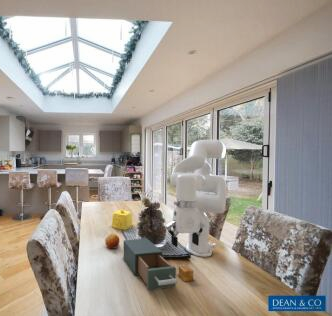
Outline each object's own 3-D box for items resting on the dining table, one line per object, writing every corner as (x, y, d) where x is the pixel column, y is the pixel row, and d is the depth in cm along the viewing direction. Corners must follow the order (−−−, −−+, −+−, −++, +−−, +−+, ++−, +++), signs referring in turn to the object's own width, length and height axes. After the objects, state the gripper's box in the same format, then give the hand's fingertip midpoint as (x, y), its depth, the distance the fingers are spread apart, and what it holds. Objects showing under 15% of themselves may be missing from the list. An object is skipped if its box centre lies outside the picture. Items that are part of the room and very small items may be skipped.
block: (186, 274, 89) (187, 265, 89) (193, 280, 85) (193, 270, 85) (178, 275, 88) (178, 266, 88) (184, 281, 84) (184, 271, 84)
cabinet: (161, 272, 90) (162, 251, 90) (134, 275, 88) (135, 254, 88) (146, 256, 105) (147, 238, 105) (123, 258, 102) (123, 240, 102)
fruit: (122, 248, 110) (114, 234, 111) (109, 254, 112) (102, 241, 112) (123, 241, 118) (116, 229, 119) (111, 247, 119) (104, 235, 120)
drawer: (182, 293, 75) (182, 274, 75) (153, 297, 73) (154, 277, 73) (158, 267, 93) (158, 251, 92) (134, 270, 90) (134, 253, 90)
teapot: (124, 232, 136) (124, 214, 136) (107, 229, 142) (108, 212, 142) (134, 223, 153) (134, 208, 153) (119, 221, 160) (119, 206, 159)
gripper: (172, 206, 81) (171, 250, 81) (210, 205, 84) (209, 247, 84) (162, 202, 88) (161, 242, 88) (197, 201, 91) (197, 240, 91)
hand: (185, 244), depth 86 cm, fingers open, 9 cm apart
